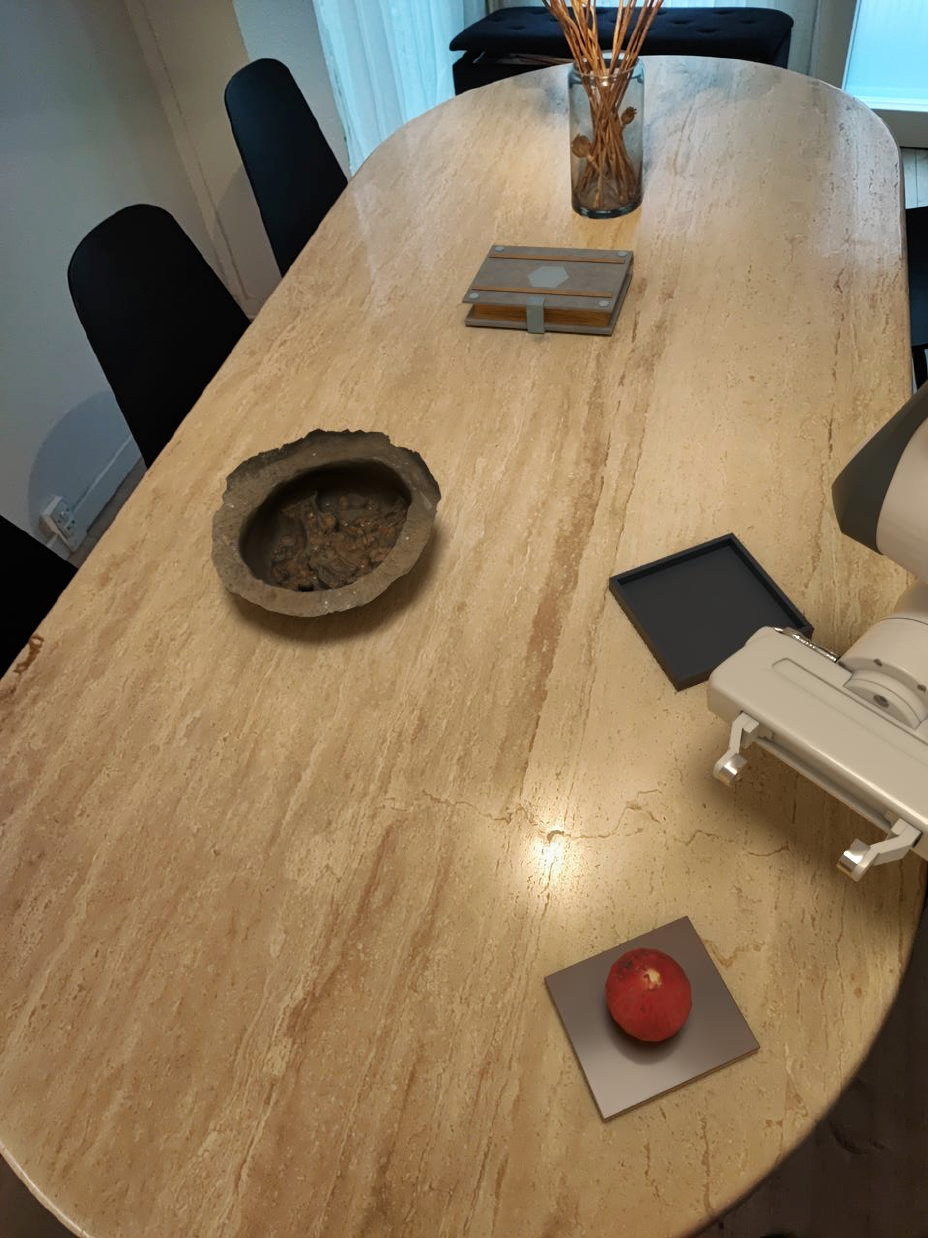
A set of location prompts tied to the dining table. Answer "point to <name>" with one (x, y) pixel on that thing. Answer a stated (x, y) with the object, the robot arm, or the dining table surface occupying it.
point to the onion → (648, 994)
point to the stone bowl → (323, 522)
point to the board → (643, 1068)
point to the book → (550, 289)
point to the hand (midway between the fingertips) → (781, 822)
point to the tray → (703, 606)
